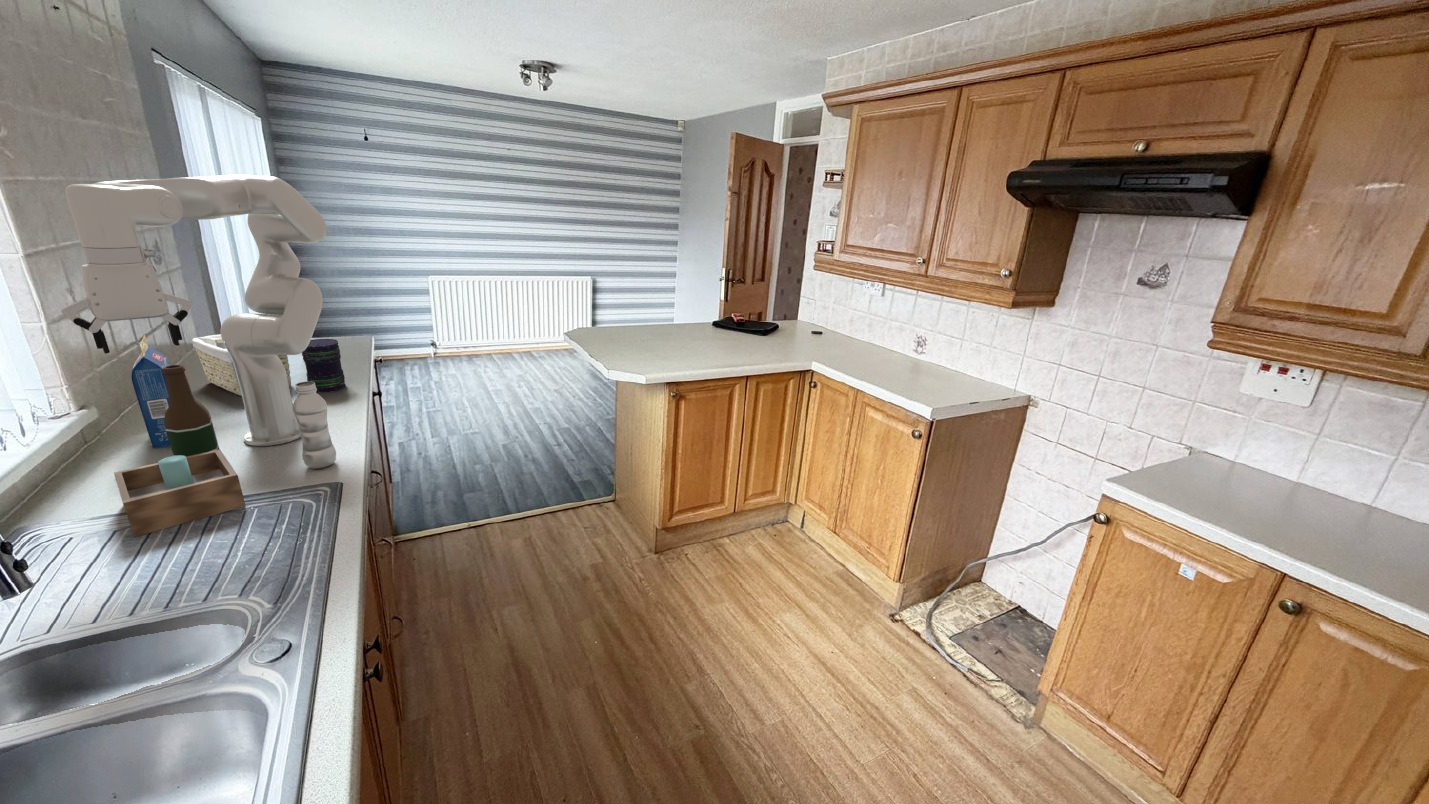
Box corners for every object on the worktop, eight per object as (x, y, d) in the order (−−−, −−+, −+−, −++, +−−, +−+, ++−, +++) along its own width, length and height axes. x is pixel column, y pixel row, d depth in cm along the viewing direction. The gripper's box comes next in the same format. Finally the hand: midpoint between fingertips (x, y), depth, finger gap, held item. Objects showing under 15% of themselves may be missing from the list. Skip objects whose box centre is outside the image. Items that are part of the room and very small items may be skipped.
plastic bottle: (302, 474, 127) (284, 390, 120) (306, 461, 132) (289, 380, 125) (336, 469, 129) (320, 387, 123) (339, 457, 135) (324, 378, 128)
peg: (197, 497, 115) (184, 453, 112) (201, 505, 113) (187, 460, 109) (170, 504, 112) (156, 459, 109) (174, 512, 110) (159, 466, 106)
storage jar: (312, 384, 181) (303, 339, 176) (348, 382, 185) (340, 338, 180) (306, 394, 173) (296, 347, 168) (343, 391, 177) (335, 345, 172)
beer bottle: (186, 480, 121) (154, 374, 113) (172, 470, 125) (141, 366, 117) (230, 467, 127) (203, 366, 119) (216, 458, 131) (189, 359, 123)
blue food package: (189, 427, 146) (162, 333, 138) (187, 443, 138) (158, 344, 129) (156, 432, 142) (126, 336, 134) (152, 449, 134) (120, 347, 125)
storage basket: (298, 386, 180) (288, 341, 175) (237, 399, 166) (225, 351, 161) (260, 372, 190) (250, 329, 185) (200, 383, 177) (188, 337, 172)
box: (227, 478, 123) (220, 449, 121) (245, 505, 113) (237, 474, 111) (124, 504, 111) (113, 472, 109) (134, 537, 102) (122, 503, 99)
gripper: (175, 253, 111) (198, 338, 117) (42, 256, 99) (75, 351, 104) (182, 257, 106) (205, 345, 112) (43, 261, 94) (77, 359, 100)
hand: (142, 348), depth 108 cm, fingers open, 9 cm apart
